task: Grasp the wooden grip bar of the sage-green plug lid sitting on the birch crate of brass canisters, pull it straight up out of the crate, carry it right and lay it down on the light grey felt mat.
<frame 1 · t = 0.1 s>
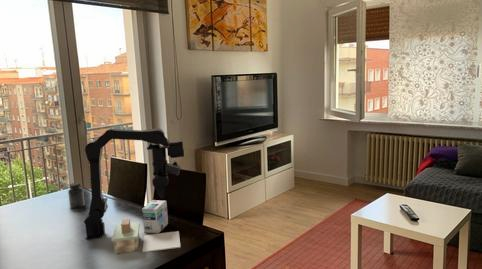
hand: (162, 194, 156), 15 cm above the table, fingers open, 9 cm apart
felt mat: (161, 241, 145), on the table
lid: (126, 232, 142), point 5 cm above the table, touching crate
crate: (127, 244, 143), on the table
light bulb box: (156, 228, 158), on the table
supplement bottle: (77, 206, 187), on the table
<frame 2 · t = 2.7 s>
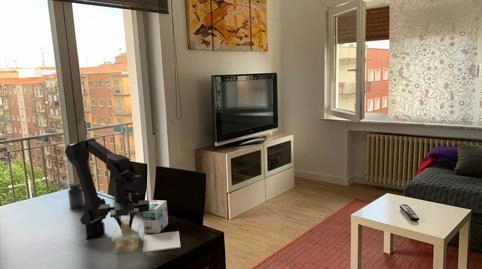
hand: (126, 229, 142), 7 cm above the table, fingers closed on lid, 3 cm apart
lid: (126, 232, 142), point 5 cm above the table, touching crate, gripper
everything else where it was.
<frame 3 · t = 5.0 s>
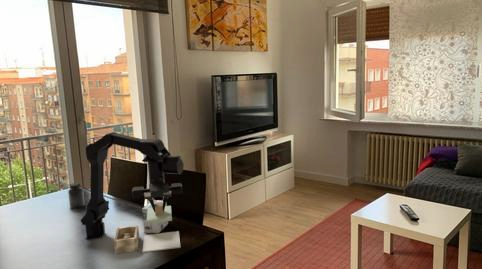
hand: (159, 211, 143), 12 cm above the table, fingers closed on lid, 3 cm apart
lid: (159, 215, 143), point 11 cm above the table, touching gripper
everything else where it was.
when the fingers open (4 cm above the table, at t = 7.0 s): lid drops 1 cm, resting on felt mat.
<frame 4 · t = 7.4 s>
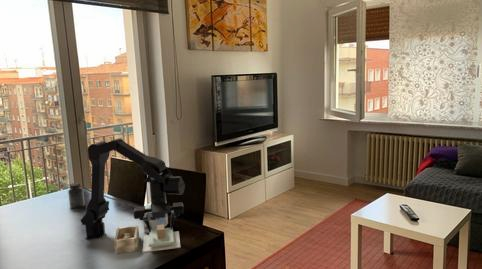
hand: (160, 231, 144), 4 cm above the table, fingers open, 8 cm apart
lid: (161, 237, 144), point 2 cm above the table, touching felt mat
everything else where it was.
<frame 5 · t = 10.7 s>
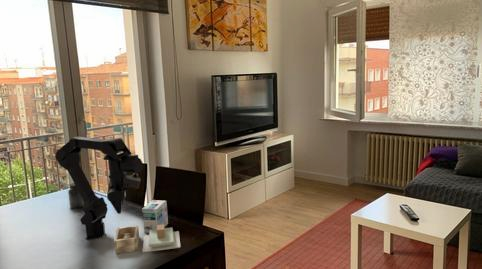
hand: (120, 209, 145), 13 cm above the table, fingers open, 9 cm apart
nothing on the table moved.
at the end: lid inside the target area (0.0 cm from its centre), point 1.6 cm above the table; lid tilted 0°; lid touching felt mat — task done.
